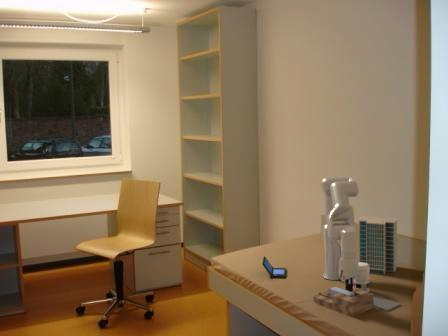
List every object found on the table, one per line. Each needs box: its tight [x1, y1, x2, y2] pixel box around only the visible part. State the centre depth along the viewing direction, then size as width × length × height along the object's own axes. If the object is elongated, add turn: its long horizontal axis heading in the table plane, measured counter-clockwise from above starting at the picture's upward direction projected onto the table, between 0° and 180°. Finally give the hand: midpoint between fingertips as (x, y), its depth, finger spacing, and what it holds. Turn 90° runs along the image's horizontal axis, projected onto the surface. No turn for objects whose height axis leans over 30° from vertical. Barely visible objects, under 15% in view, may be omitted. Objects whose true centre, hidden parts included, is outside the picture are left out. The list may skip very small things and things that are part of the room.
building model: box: [358, 216, 398, 275], centre depth 287 cm, size 20×16×30 cm
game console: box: [261, 256, 287, 279], centre depth 287 cm, size 16×14×9 cm
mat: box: [374, 294, 402, 312], centre depth 239 cm, size 11×18×1 cm, turn 37°
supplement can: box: [353, 261, 371, 293], centre depth 254 cm, size 8×8×15 cm
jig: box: [313, 287, 375, 318], centre depth 238 cm, size 24×16×7 cm, turn 37°
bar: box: [329, 286, 355, 297], centre depth 238 cm, size 12×4×4 cm, turn 37°
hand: (349, 290), depth 235 cm, fingers closed
